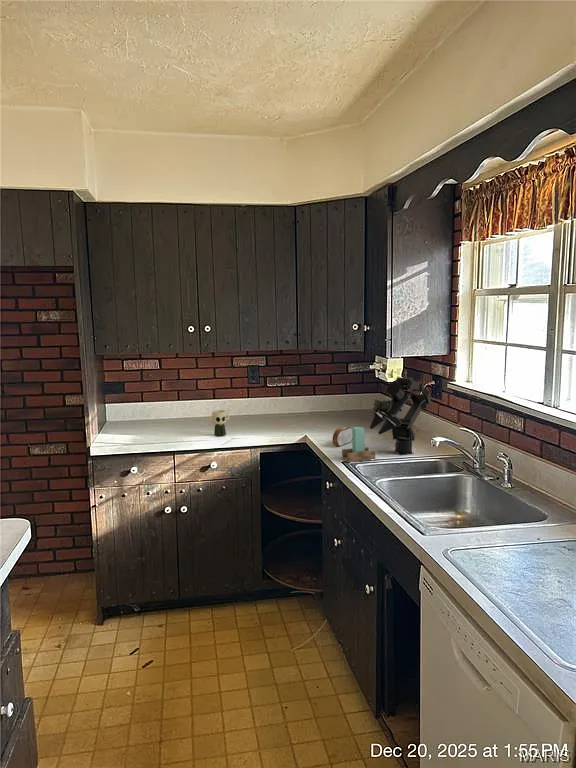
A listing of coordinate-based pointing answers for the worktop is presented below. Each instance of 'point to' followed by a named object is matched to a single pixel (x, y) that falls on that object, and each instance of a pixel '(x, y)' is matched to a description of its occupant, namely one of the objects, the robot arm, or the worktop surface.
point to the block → (357, 439)
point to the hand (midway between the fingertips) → (374, 431)
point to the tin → (342, 436)
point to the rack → (357, 455)
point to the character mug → (219, 421)
